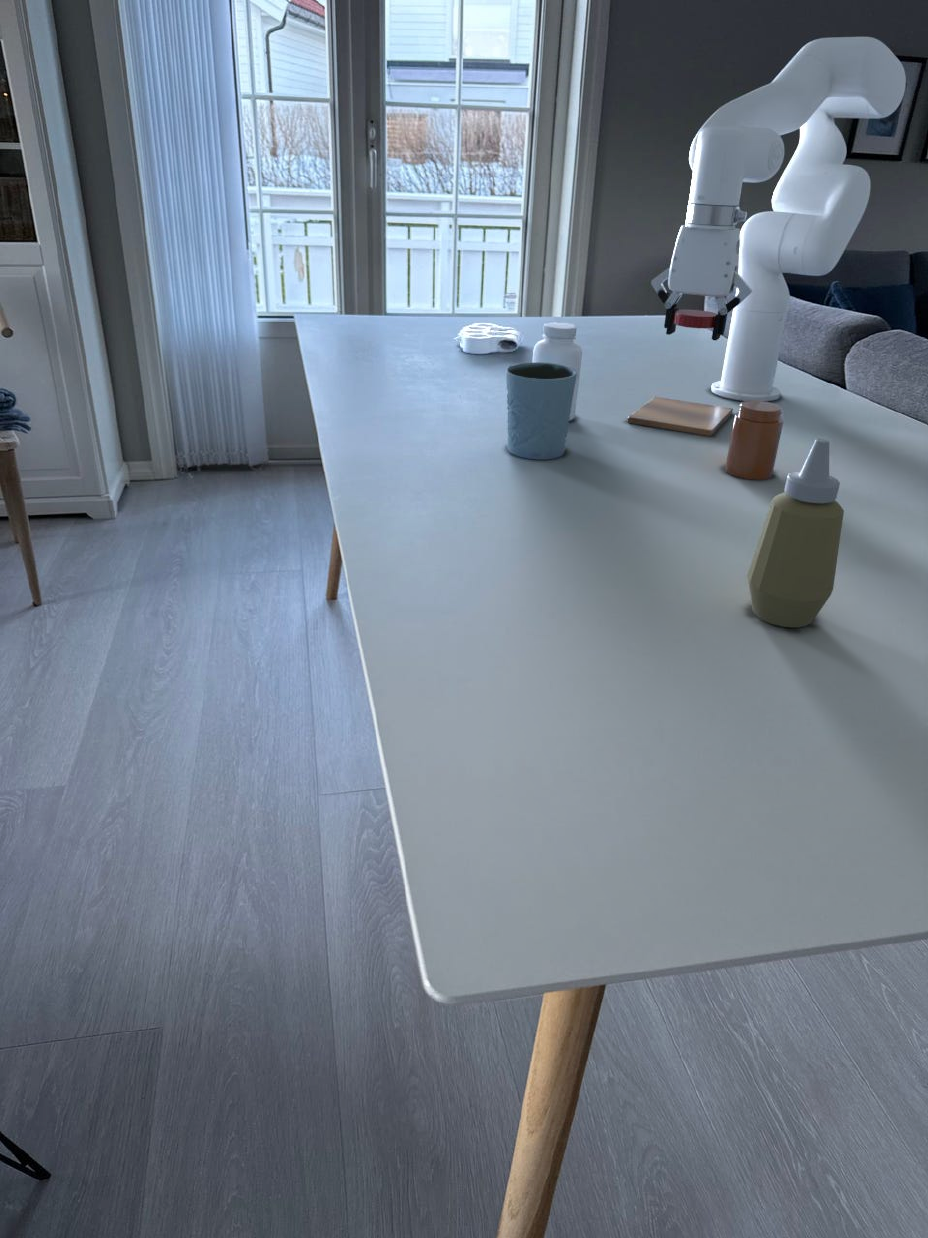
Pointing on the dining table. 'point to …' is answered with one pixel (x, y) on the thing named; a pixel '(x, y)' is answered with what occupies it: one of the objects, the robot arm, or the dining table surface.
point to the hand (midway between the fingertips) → (693, 335)
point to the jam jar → (754, 440)
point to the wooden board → (681, 416)
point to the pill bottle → (560, 351)
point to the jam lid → (694, 318)
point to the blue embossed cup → (539, 408)
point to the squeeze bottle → (798, 546)
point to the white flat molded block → (488, 338)
